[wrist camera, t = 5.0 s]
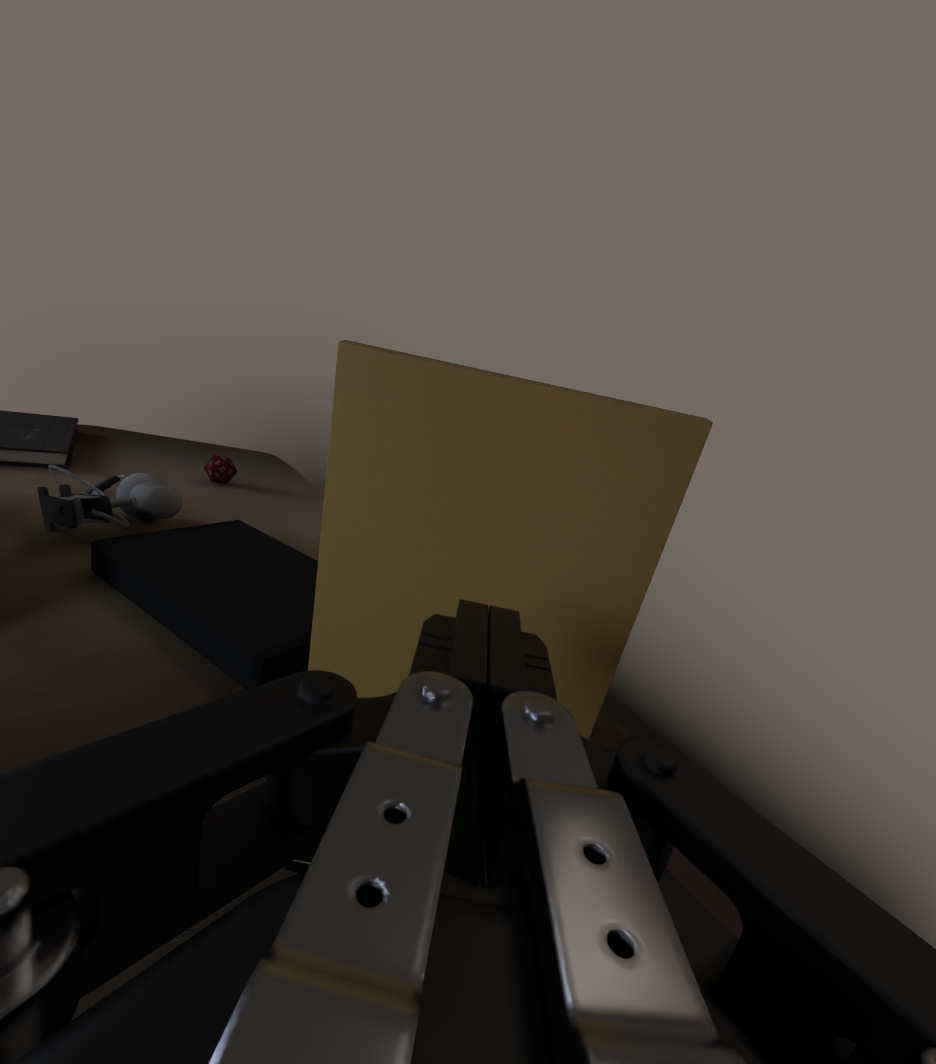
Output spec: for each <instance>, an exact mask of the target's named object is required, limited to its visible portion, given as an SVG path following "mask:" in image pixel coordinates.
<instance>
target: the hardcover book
mask: <svg viewBox="0 0 936 1064" xmlns="http://www.w3.org/2000/svg"><path fill="white" fill-rule="evenodd" d="M77 423H78V418H70V417H60V416H50V415H40V414H29V413H20V412H10V411H0V464H2V465H19V466H37V467H48V466H49V465H50V464H51V465H56V466H58V467H60V468H68V467H69V463H70V460H71V456H72V453H73V449H74V446H75V442H76V439H77V435H78V430H75V429H76V426H77Z"/></svg>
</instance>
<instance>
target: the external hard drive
mask: <svg viewBox="0 0 936 1064" xmlns="http://www.w3.org/2000/svg"><path fill="white" fill-rule="evenodd" d="M317 569H318V561H317V560H315V559H313V558H311V557H309V556H307V555H305V554H303V553H301V552H299V551H298V550H296V549H294V548H292V547H290V546H288V545H286V544H284V543H282V542H280V541H278V540H276V539H274V538H273V537H271V536H269V535H267V534H265V533H263V532H261V531H259V530H257V529H255V528H253V527H251V526H249V525H247V524H246V523H244V522H242V521H240V520H235V521H228V522H221V523H214V524H206V525H199V526H192V527H185V528H178V529H171V530H164V531H156V532H149V533H142V534H135V535H128V536H121V537H114V538H106V539H99V540H94V541H92V543H91V570H92V571H93V572H94V573H95V574H97V575H98V576H99V577H101V578H102V579H103V580H105V581H106V582H107V583H108V584H110V585H111V586H112V587H114V588H115V589H116V590H118V591H119V592H120V593H122V594H123V595H124V596H126V597H127V598H128V599H130V600H131V601H132V602H134V603H135V604H136V605H138V606H139V607H140V608H142V609H143V610H144V611H145V612H147V613H148V614H149V615H151V616H152V617H153V618H155V619H156V620H157V621H159V622H160V623H161V624H163V625H164V626H165V627H167V628H168V629H169V630H171V631H172V632H173V633H175V634H176V635H177V636H179V637H180V638H181V639H182V640H184V641H185V642H186V643H188V644H189V645H190V646H192V647H193V648H194V649H196V650H197V651H198V652H200V653H201V654H202V655H204V656H205V657H206V658H208V659H209V660H210V661H212V662H213V663H214V664H216V665H217V666H218V667H220V668H221V669H222V670H223V671H225V672H226V673H227V674H229V675H230V676H231V677H233V678H234V679H235V680H237V681H238V682H239V683H241V684H242V685H243V686H245V687H246V688H247V689H251V688H253V687H256V686H259V685H262V684H265V683H268V682H271V681H274V680H277V679H280V678H283V677H286V676H288V675H291V674H294V673H298V672H302V671H308V666H309V655H310V644H311V633H312V623H313V612H314V601H315V590H316V580H317Z"/></svg>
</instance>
